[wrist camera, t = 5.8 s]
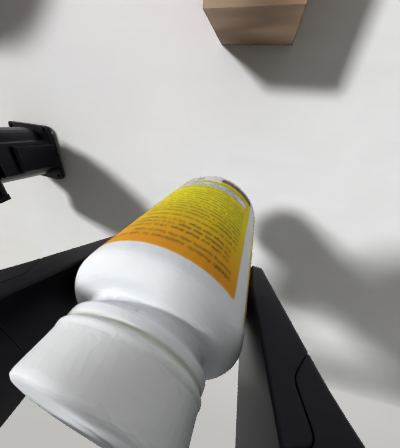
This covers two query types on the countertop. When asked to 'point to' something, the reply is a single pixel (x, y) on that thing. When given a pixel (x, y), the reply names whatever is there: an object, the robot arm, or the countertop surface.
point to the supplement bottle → (150, 322)
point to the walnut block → (255, 20)
